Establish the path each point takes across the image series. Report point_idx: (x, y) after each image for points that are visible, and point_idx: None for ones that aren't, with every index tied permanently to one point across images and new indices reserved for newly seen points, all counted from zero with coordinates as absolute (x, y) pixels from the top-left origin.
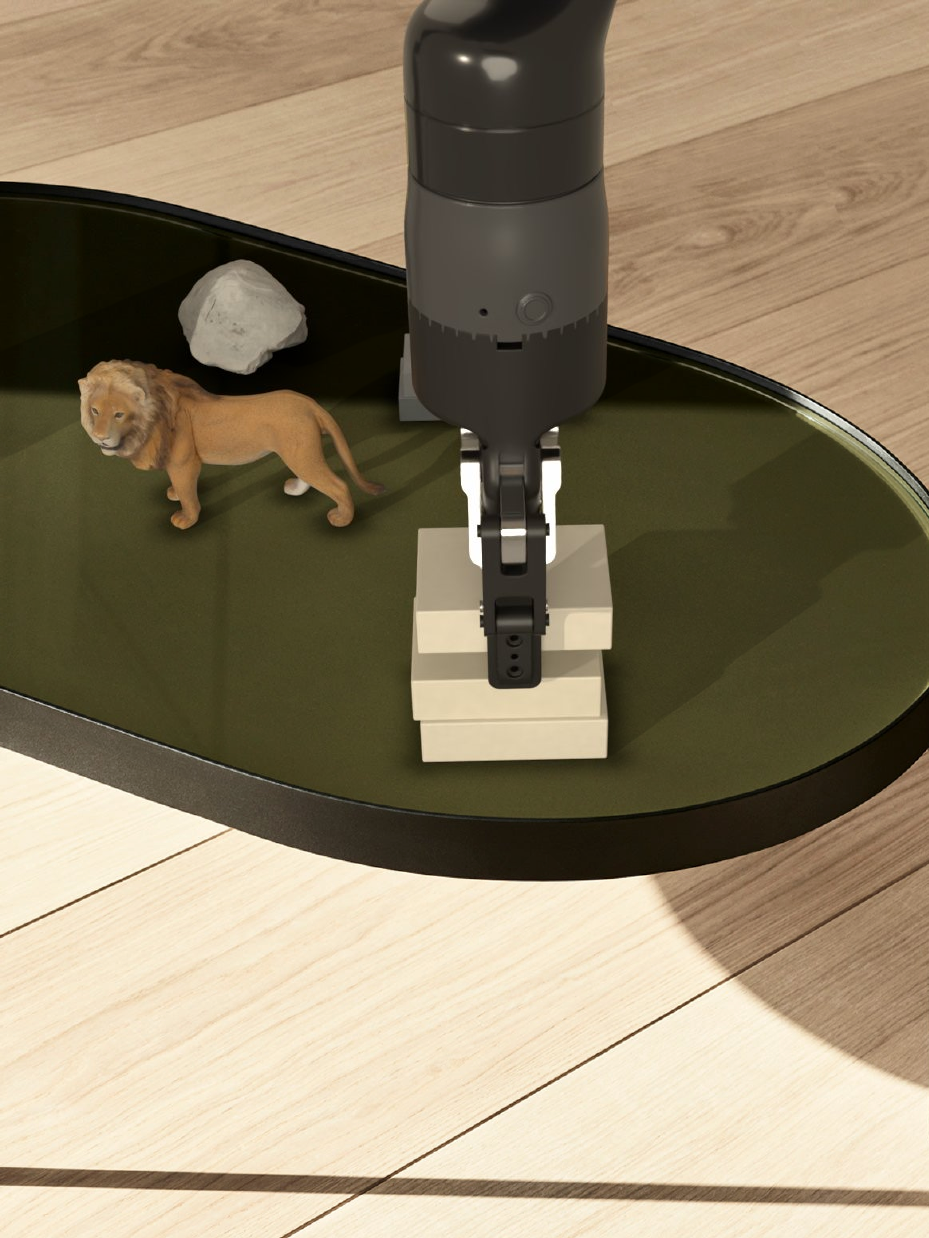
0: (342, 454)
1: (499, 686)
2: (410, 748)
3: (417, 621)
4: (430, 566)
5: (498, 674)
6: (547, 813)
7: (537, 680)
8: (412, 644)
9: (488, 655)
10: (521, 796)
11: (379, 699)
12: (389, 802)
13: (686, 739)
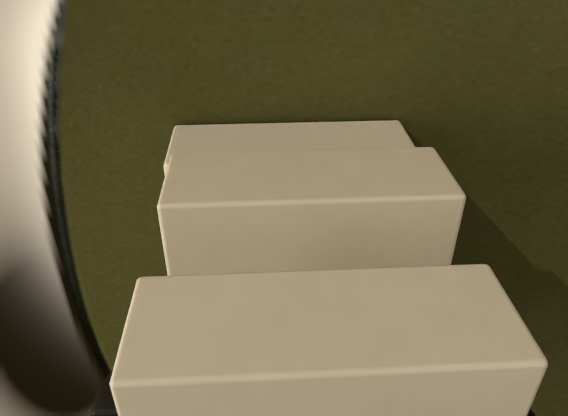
0: None
1: None
2: (211, 102)
3: (118, 356)
4: (342, 398)
5: (96, 399)
6: (87, 281)
7: None
8: (294, 199)
9: None
10: (116, 253)
11: (345, 43)
12: (68, 74)
13: None
